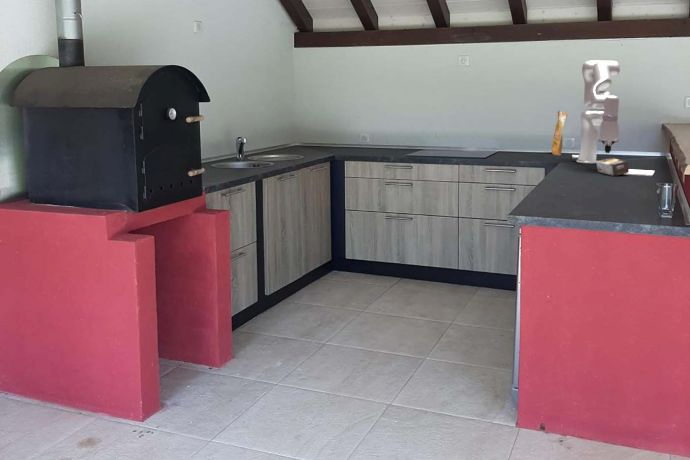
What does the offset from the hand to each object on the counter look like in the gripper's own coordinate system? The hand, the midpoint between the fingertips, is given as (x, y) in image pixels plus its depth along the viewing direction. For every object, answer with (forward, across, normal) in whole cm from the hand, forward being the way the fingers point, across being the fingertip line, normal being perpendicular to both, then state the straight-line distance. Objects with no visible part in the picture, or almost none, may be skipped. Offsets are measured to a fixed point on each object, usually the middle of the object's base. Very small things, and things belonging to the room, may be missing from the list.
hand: (607, 152), depth 402 cm
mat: (+10, +14, 0) cm, 18 cm away
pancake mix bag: (+10, -42, +71) cm, 83 cm away
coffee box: (+6, -1, -3) cm, 7 cm away
